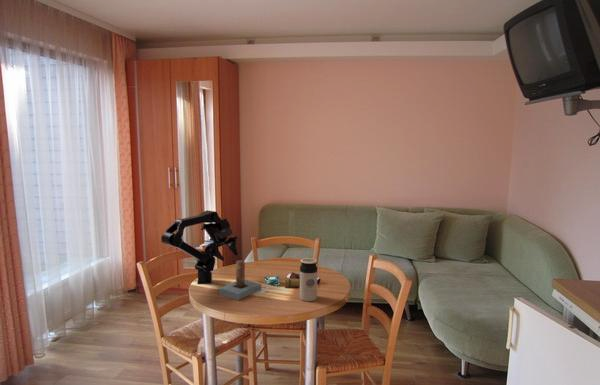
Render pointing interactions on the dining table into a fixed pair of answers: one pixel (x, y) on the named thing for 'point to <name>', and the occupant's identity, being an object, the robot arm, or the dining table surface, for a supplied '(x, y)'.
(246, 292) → the socket board
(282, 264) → the dining table surface
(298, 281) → the gavel
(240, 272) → the peg
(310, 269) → the travel mug
